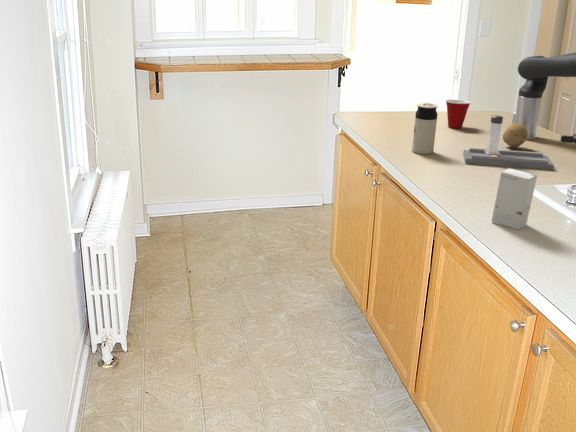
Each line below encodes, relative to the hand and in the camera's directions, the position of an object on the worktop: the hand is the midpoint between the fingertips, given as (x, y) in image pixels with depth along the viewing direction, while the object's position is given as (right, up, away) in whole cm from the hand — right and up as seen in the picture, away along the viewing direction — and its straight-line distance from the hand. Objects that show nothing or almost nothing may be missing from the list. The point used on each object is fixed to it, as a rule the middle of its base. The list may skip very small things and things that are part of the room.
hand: (561, 138), depth 235 cm
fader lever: (-23, -5, +6) cm, 24 cm away
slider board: (-17, -8, +6) cm, 20 cm away
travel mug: (-46, -3, +17) cm, 49 cm away
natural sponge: (-8, -1, +25) cm, 27 cm away
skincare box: (-35, -30, -51) cm, 69 cm away
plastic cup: (-24, +11, +56) cm, 61 cm away
